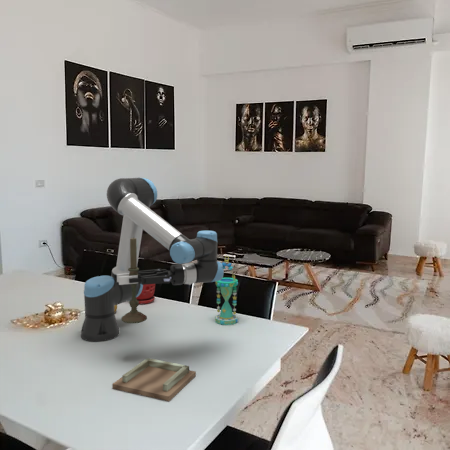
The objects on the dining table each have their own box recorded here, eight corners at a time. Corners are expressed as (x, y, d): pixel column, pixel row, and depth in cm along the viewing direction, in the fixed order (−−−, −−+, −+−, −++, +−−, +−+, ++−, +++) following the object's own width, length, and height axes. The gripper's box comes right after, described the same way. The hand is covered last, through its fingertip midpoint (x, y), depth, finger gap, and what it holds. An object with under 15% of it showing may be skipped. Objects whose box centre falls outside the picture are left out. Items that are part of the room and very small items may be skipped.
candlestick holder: (141, 324, 158) (140, 239, 154) (116, 322, 160) (115, 237, 156) (150, 316, 167) (150, 235, 163) (127, 314, 169) (126, 234, 165)
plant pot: (142, 296, 242) (142, 274, 241) (160, 301, 234) (160, 278, 233) (123, 302, 232) (123, 279, 230) (142, 307, 224) (141, 283, 222)
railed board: (112, 388, 142) (112, 377, 141) (143, 365, 158) (143, 355, 158) (169, 401, 134) (169, 390, 134) (195, 375, 151) (195, 365, 150)
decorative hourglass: (210, 323, 202) (210, 256, 198) (219, 316, 212) (220, 252, 208) (233, 326, 197) (234, 258, 194) (242, 319, 207) (242, 254, 204)
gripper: (189, 289, 162) (122, 296, 153) (175, 279, 177) (114, 284, 168) (189, 269, 161) (122, 274, 152) (175, 259, 176) (114, 264, 167)
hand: (118, 279), depth 160 cm, fingers closed on candlestick holder, 3 cm apart
